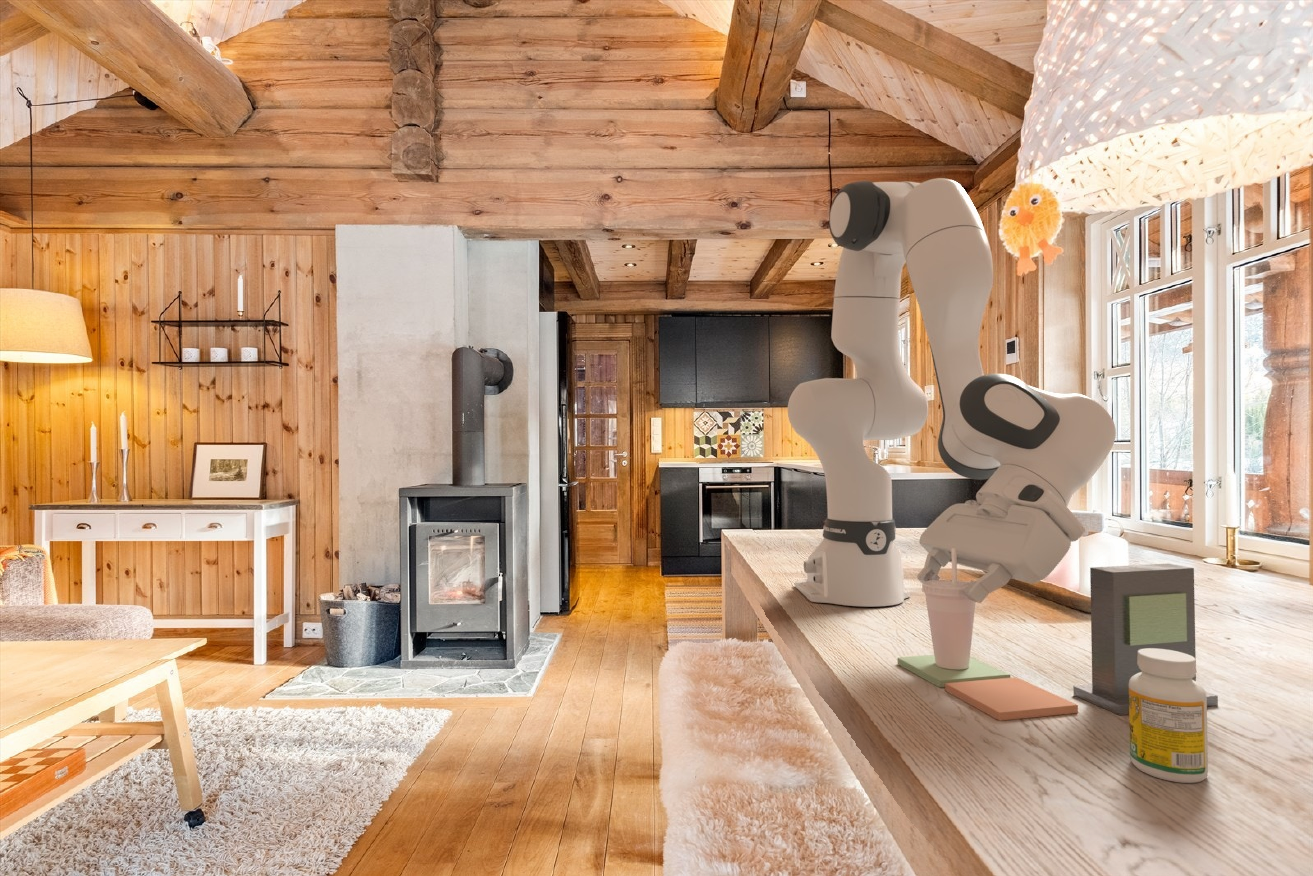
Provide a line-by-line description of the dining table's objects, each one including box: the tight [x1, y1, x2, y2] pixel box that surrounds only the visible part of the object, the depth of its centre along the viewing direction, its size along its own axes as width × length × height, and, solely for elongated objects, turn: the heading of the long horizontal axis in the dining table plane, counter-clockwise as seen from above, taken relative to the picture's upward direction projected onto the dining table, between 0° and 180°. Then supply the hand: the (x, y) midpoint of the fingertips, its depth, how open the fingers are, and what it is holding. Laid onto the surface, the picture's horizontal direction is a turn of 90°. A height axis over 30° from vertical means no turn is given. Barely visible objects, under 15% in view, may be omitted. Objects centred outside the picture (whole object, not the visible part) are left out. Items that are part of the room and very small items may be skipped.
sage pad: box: [897, 654, 1011, 688], centre depth 86 cm, size 9×9×1 cm
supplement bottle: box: [1128, 648, 1209, 784], centre depth 60 cm, size 5×5×10 cm
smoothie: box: [921, 548, 976, 670], centre depth 87 cm, size 6×6×14 cm
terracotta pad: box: [944, 676, 1079, 721], centre depth 76 cm, size 9×9×1 cm
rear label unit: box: [1073, 563, 1219, 716], centre depth 76 cm, size 6×12×14 cm, turn 102°
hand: (945, 590), depth 86 cm, fingers open, 8 cm apart
